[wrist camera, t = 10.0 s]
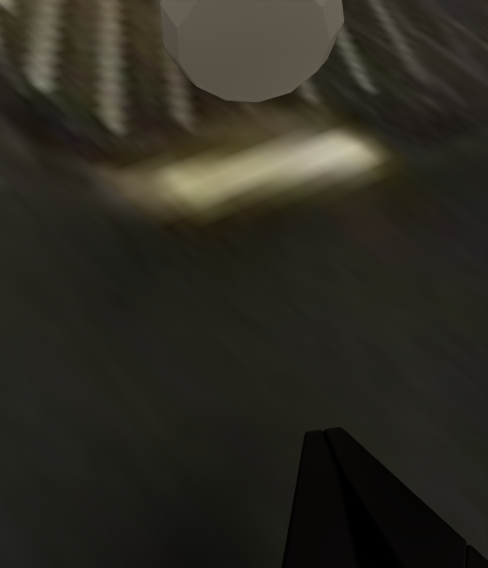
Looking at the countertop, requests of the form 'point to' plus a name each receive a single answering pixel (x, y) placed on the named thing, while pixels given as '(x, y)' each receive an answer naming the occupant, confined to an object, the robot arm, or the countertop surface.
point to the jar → (250, 43)
